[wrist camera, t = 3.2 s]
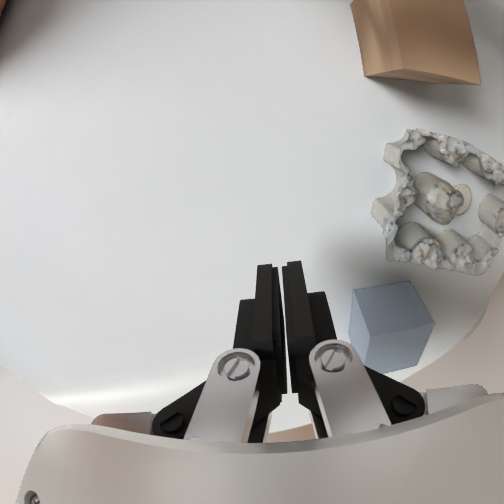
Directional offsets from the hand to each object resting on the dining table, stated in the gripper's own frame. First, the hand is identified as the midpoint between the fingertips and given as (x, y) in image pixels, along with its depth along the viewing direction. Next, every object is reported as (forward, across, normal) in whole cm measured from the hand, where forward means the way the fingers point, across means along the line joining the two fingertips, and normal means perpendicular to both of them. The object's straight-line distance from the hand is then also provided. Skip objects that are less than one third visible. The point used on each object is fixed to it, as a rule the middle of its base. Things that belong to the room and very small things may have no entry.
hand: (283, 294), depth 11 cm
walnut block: (+6, -8, -11) cm, 15 cm away
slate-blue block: (+6, -7, +7) cm, 12 cm away
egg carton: (+6, -11, -1) cm, 13 cm away
